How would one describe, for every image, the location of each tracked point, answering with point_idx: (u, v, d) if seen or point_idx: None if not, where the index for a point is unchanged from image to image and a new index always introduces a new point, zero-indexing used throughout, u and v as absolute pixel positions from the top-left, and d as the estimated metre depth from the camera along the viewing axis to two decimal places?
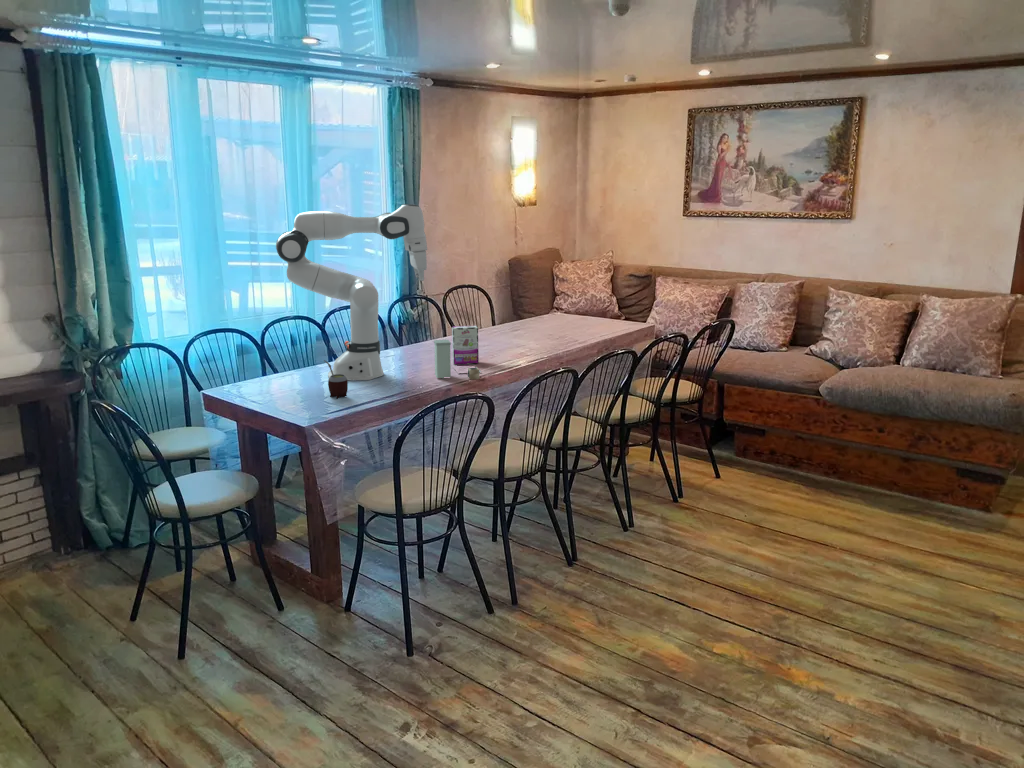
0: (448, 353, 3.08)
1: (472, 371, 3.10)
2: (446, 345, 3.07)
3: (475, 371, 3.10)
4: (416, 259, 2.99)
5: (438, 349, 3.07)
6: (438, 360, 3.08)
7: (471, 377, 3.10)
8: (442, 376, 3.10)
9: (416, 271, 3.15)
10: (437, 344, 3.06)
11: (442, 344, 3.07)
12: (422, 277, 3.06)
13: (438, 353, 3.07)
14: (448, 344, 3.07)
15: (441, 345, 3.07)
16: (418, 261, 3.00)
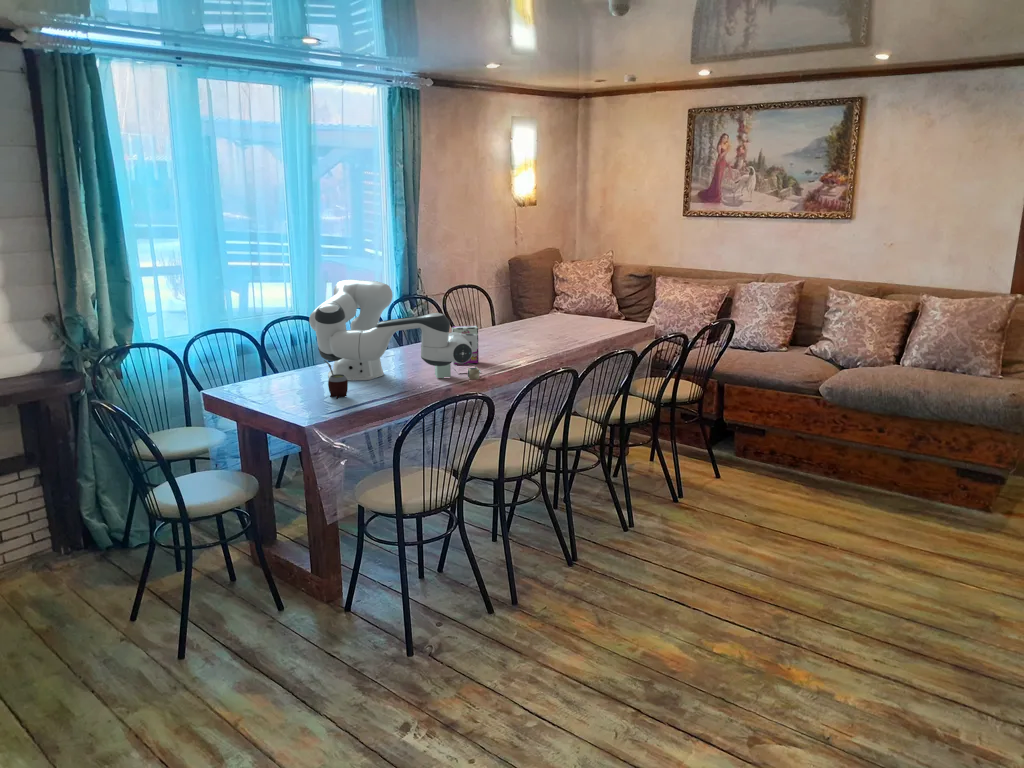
0: None
1: (472, 371, 3.10)
2: None
3: (475, 371, 3.10)
4: None
5: None
6: None
7: (471, 377, 3.10)
8: (442, 376, 3.10)
9: None
10: None
11: None
12: None
13: None
14: None
15: None
16: None
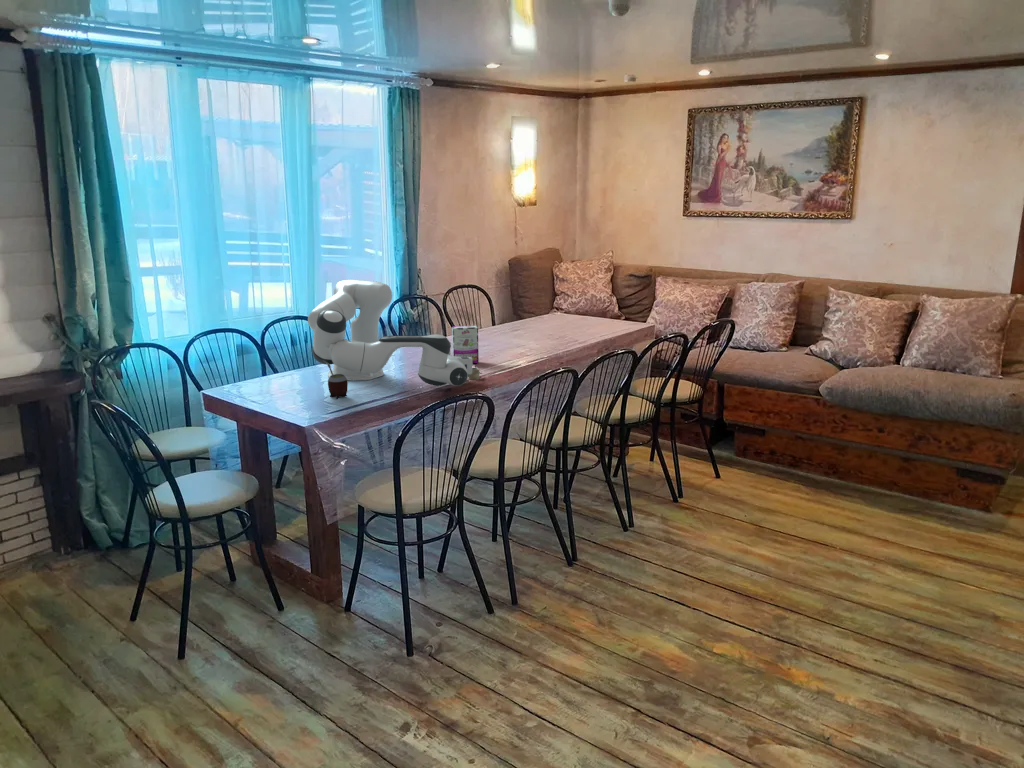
0: None
1: (472, 371, 3.10)
2: None
3: (475, 371, 3.10)
4: None
5: None
6: None
7: (471, 377, 3.10)
8: None
9: None
10: None
11: None
12: None
13: None
14: None
15: None
16: None
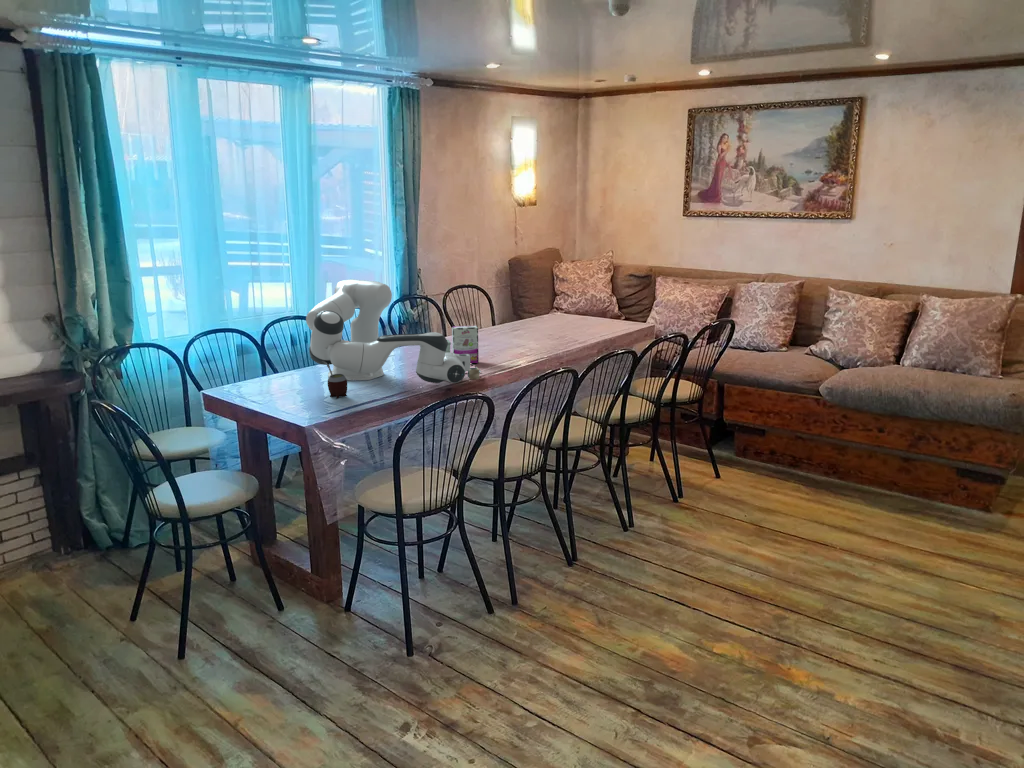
0: None
1: (472, 371, 3.10)
2: None
3: (475, 371, 3.10)
4: None
5: None
6: None
7: (471, 377, 3.10)
8: None
9: None
10: None
11: None
12: None
13: None
14: (448, 344, 3.07)
15: None
16: None
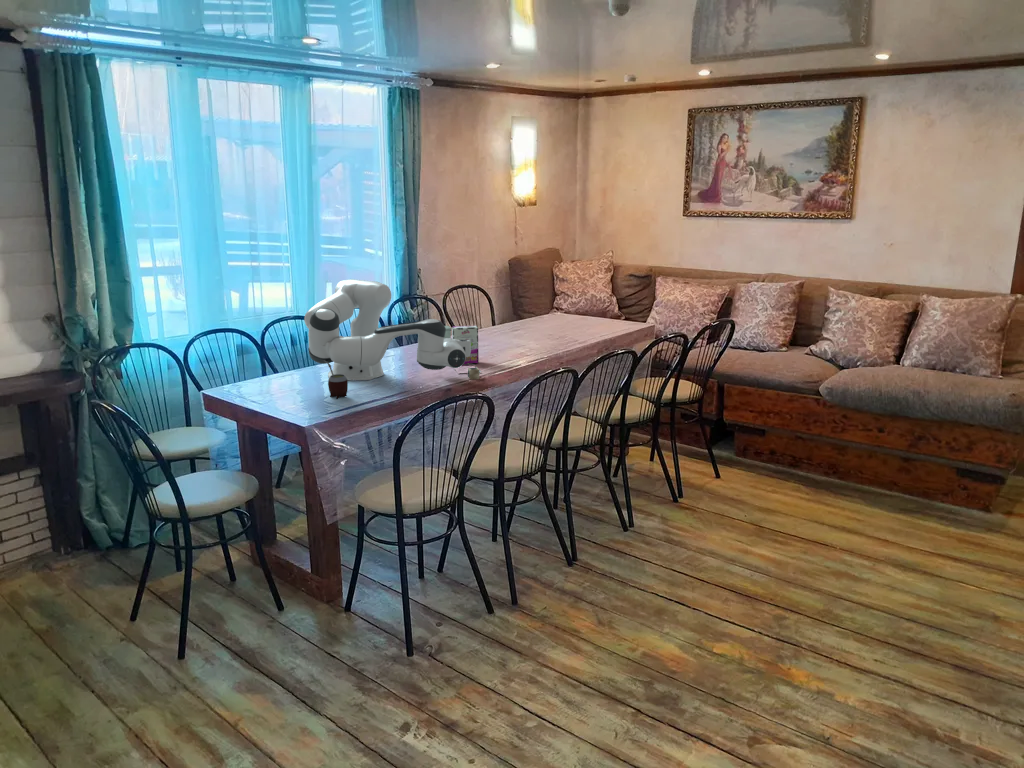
0: None
1: (472, 371, 3.10)
2: (446, 331, 3.06)
3: (475, 371, 3.10)
4: None
5: None
6: None
7: (471, 377, 3.10)
8: None
9: None
10: None
11: None
12: None
13: None
14: (448, 330, 3.06)
15: None
16: None
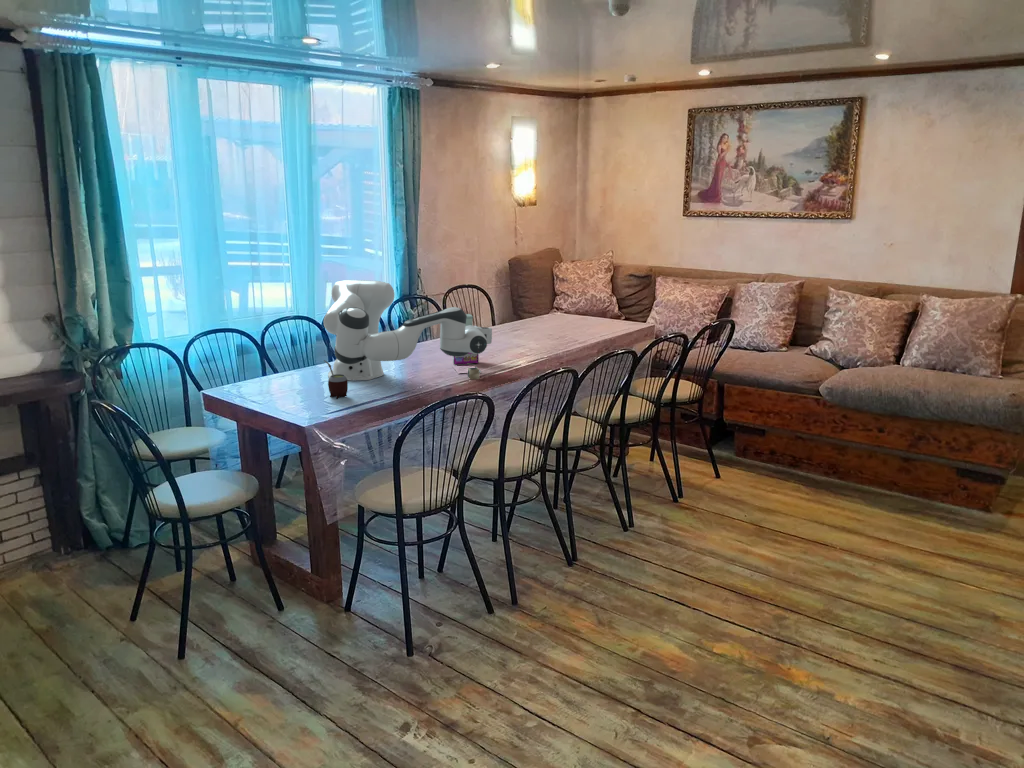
0: None
1: (472, 371, 3.10)
2: (468, 319, 3.15)
3: (475, 371, 3.10)
4: None
5: None
6: None
7: (471, 377, 3.10)
8: None
9: None
10: None
11: None
12: None
13: None
14: (470, 318, 3.15)
15: None
16: None
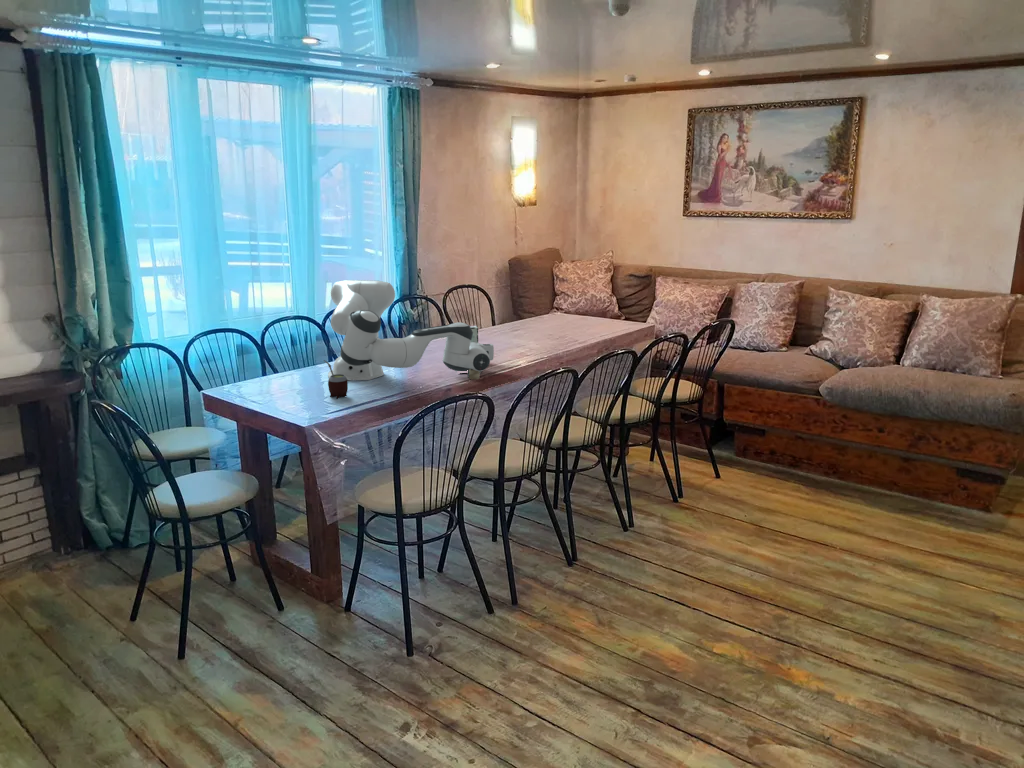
0: None
1: (472, 371, 3.10)
2: None
3: (475, 371, 3.10)
4: None
5: None
6: None
7: (471, 377, 3.10)
8: None
9: None
10: None
11: None
12: None
13: None
14: (472, 337, 3.20)
15: None
16: None
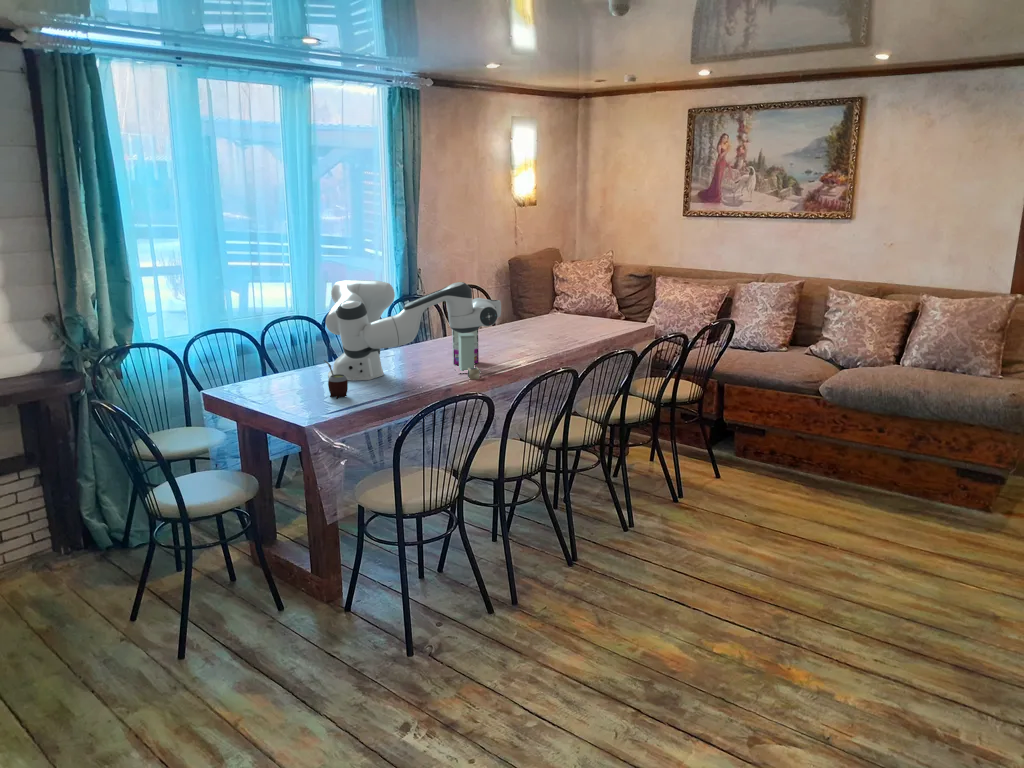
0: (472, 345, 3.21)
1: (472, 371, 3.10)
2: (470, 338, 3.19)
3: (475, 371, 3.10)
4: None
5: (462, 342, 3.19)
6: (462, 352, 3.20)
7: (471, 377, 3.10)
8: (466, 368, 3.22)
9: None
10: (461, 337, 3.18)
11: (466, 337, 3.19)
12: None
13: (462, 345, 3.19)
14: (472, 337, 3.20)
15: (465, 338, 3.19)
16: None
